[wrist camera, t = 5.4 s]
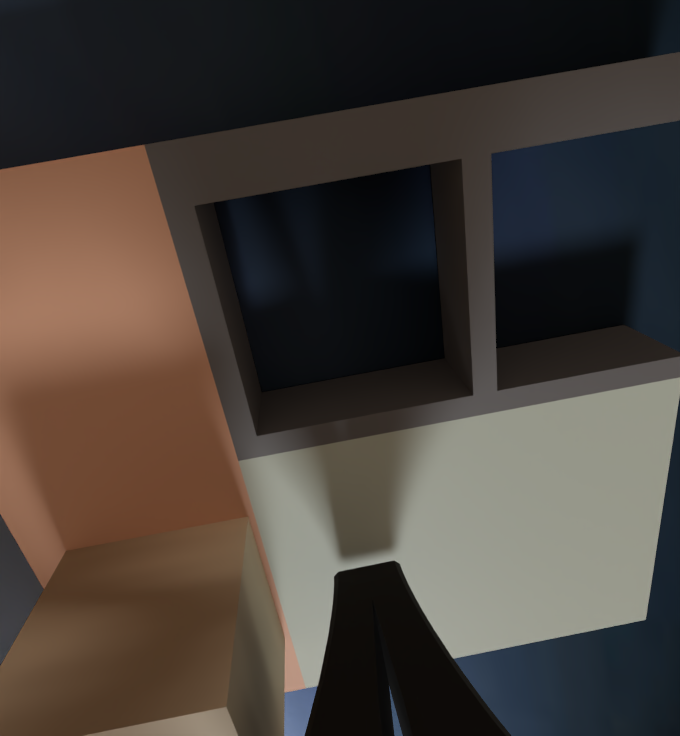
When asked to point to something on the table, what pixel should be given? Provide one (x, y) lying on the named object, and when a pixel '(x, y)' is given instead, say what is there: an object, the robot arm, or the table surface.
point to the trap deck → (336, 396)
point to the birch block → (151, 642)
